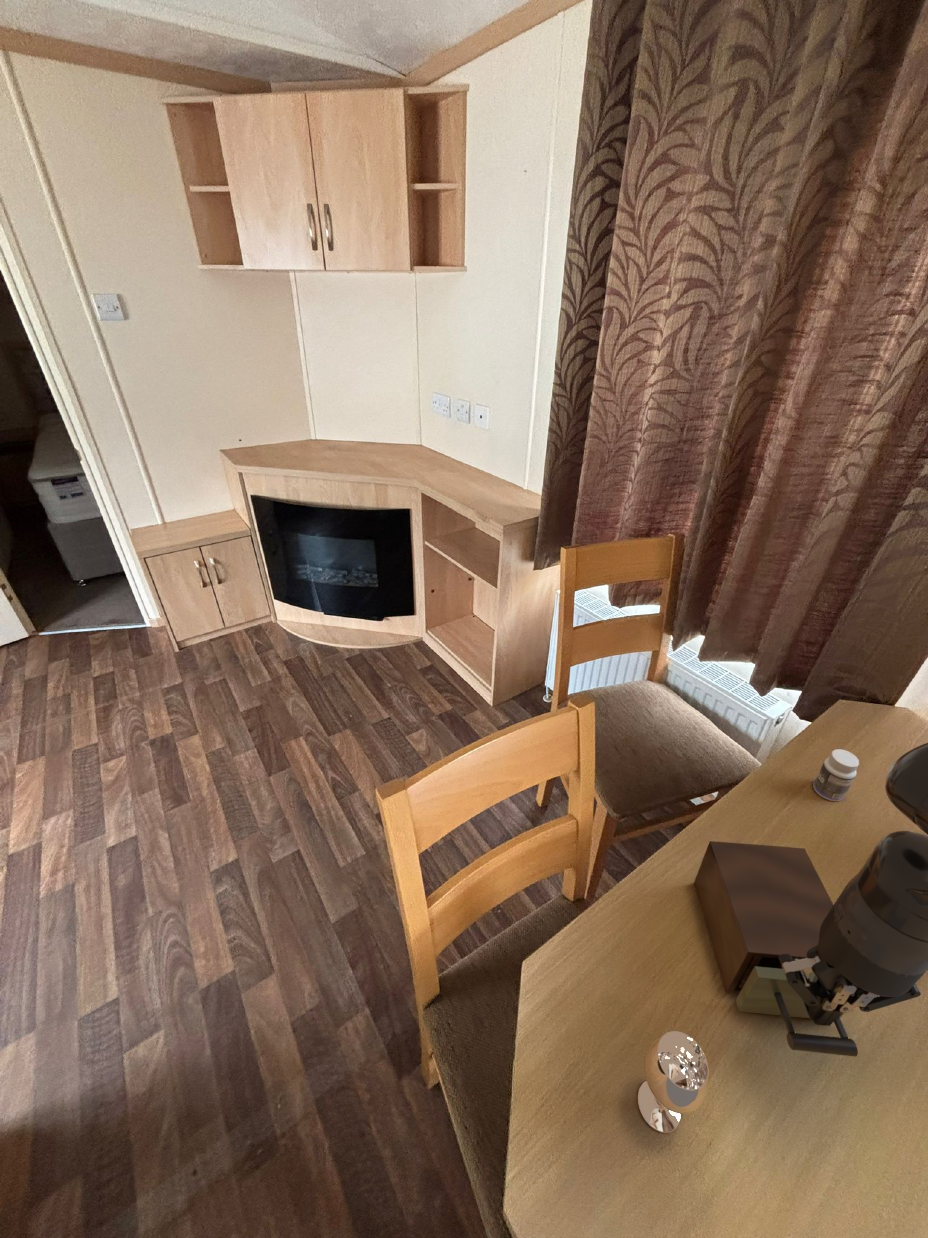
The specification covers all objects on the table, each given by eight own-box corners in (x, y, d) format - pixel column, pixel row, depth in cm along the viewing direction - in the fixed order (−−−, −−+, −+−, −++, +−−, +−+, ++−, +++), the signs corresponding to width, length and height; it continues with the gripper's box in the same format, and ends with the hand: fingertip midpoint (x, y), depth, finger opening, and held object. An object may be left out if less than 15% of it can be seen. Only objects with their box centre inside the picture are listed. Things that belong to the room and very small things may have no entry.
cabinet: (831, 1004, 65) (863, 963, 59) (725, 994, 66) (748, 952, 61) (781, 890, 77) (804, 848, 72) (693, 883, 78) (709, 840, 73)
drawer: (862, 1078, 58) (894, 1046, 54) (755, 1066, 59) (778, 1034, 55) (789, 909, 74) (809, 874, 70) (705, 902, 75) (720, 867, 71)
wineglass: (621, 1105, 57) (640, 1059, 51) (647, 1058, 60) (668, 1010, 54) (671, 1158, 53) (698, 1116, 47) (696, 1106, 57) (725, 1060, 50)
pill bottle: (812, 777, 95) (829, 743, 91) (843, 787, 93) (861, 753, 89) (811, 795, 92) (829, 761, 87) (843, 806, 90) (862, 772, 85)
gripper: (827, 966, 46) (767, 1050, 55) (991, 981, 45) (902, 1065, 54) (789, 884, 52) (741, 971, 61) (932, 896, 51) (861, 983, 60)
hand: (817, 1015), depth 57 cm, fingers closed
